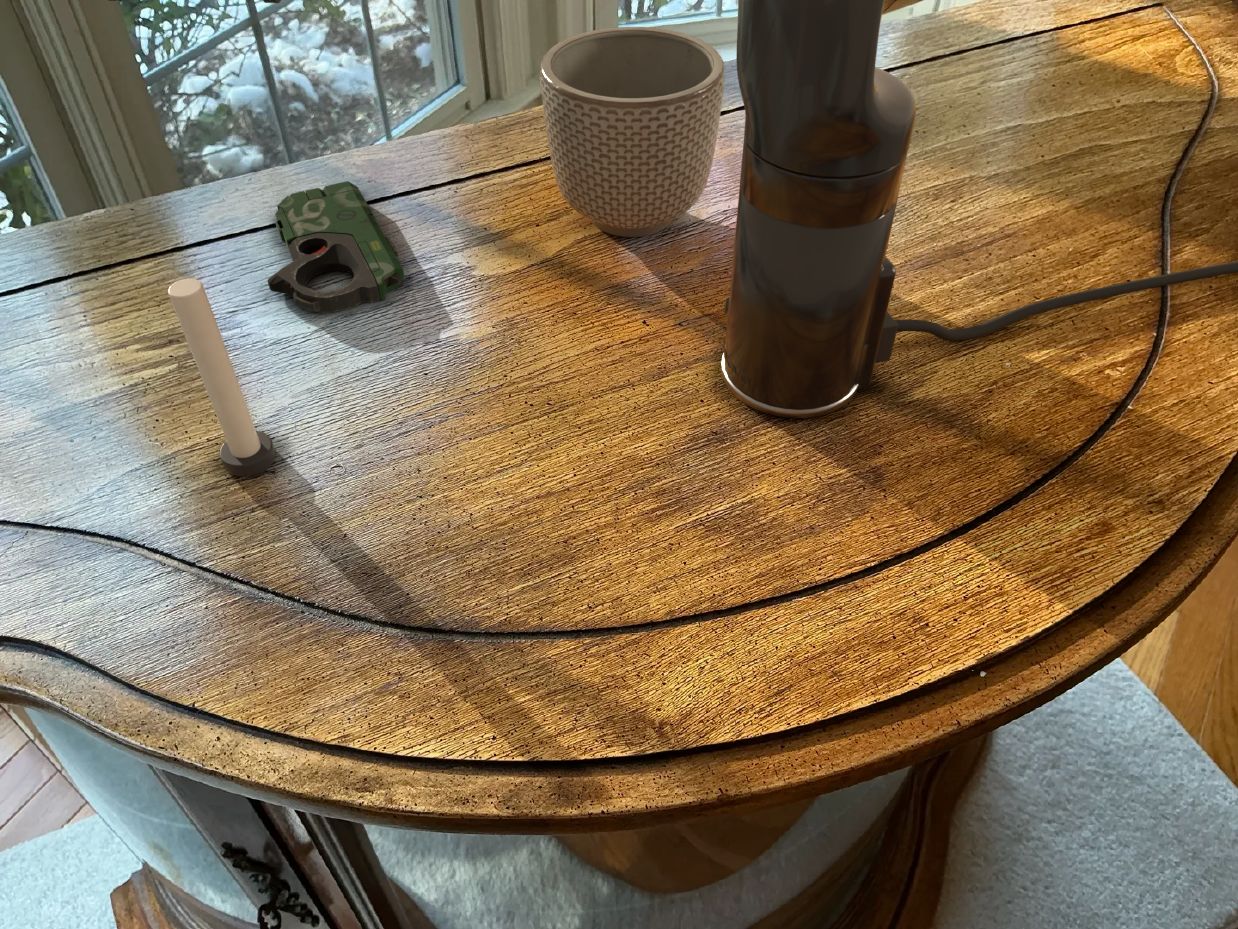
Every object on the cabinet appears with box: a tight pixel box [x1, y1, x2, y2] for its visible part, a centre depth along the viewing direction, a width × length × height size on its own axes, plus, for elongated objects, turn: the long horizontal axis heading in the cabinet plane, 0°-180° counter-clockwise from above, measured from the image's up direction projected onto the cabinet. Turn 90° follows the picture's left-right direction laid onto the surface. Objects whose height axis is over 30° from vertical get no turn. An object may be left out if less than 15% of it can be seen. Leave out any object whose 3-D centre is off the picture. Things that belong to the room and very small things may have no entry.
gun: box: [267, 180, 405, 314], centre depth 78 cm, size 16×2×10 cm
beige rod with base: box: [167, 278, 277, 478], centre depth 58 cm, size 3×3×13 cm
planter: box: [539, 26, 726, 238], centre depth 78 cm, size 14×14×13 cm
